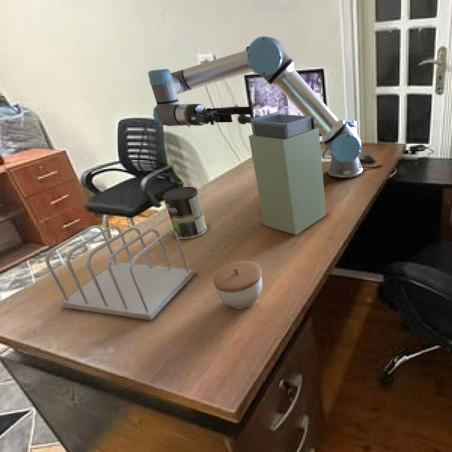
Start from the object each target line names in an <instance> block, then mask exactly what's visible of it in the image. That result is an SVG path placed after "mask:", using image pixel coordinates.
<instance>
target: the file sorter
mask: <svg viewBox="0 0 452 452" xmlns="http://www.w3.org/2000/svg"><path fill="white" fill-rule="evenodd" d="M94 228H95V229H99V231H100V232H98V233H96V234H94V235H93V236H91V237H89V238H88V239H87V240H84V241H83V242H81V243H79V244H78V245H76V246H75V247H73V248H72V249H70V250H69V252H68V253H67V255H66V260H65V262H66V266H67V268H68V270H69V272H70V274H71V276H72V278H73V280H74V282H75V284H76V286H77V290H76V291H75V292H73V293H72V294H71V295H69V296H68V294H67V292H66V290H65V288H64V287H63V285H62V283H61V281H60V279H59V277H58V276H57V274H56V272H55V270H54V268H53V266H52V264H51V262H50V258H51V256H52V254H53V253H54V252H56V251H57V250H58V249H59V250H60V248H62V247H64V246H65V245H67V244H69V243H71V242H72V241H74V240H75V239H77V238H79V237H80V236H82V235H84V234H86V233H88V232H90V230H93V229H94ZM112 229H115V230H117V232H118V234H117V235H116V236H114V237H112V238H111V239H109V240H108V237H107V235H106V233H107V232H108V231H110V230H112ZM131 231H135V232H137V235H138V236H136V237H135V238H134V239H132V240H130V241H129V242H126V239H125V237H124V236H125V235H126V234H127V233H129V232H131ZM151 232H153V233H155V235H156V239H154V240H153V241H152V242H151V243H149V244H148V245H147V246H146V244H145V241H144V238H143V237H145V236H146V235H148V234H149V233H151ZM170 233H173V234H174V237H175V239H176V243H177V246H178V250H179V252H180V255H181V259H182V262H183V266H184V268H178V267H171V266H170V263H169V261H168V258H167V254H166V251H165V247H164V245H163V241H162V239H163V238H165V237H166V236H167V235H169V234H170ZM100 236H102V237H103V239H104V243H102V244H101V245H99V246H98V247H96V248H95V249H93V250H92V251H90V252H89V254H88V256H87V258H86V266H87V269H88V271H89V274H90V276H91V278H92V279H91V280H89V281H88V282H87V283H85V284H84V285H83V286H82V285H81V283H80V281H79V278H78V277H77V274H76V272H75V270H74V268H73V266H72V263H71V258H72V255H73V254H74V253H75V252H76V251H78V250H79V249H81V248H82V247H84V246H86V245H88V244H89V243H91V242H92V241H94V240H96V239H98V238H99V237H100ZM119 238H121V241H122V244H123V246H121V247H119V249H117V250H115V251H113V249H112V246H111V245H110V244H111V243H113V242H115V241H116V240H118V239H119ZM139 240H140V244H141V246H142V249H141V250H140V251H139V252H138V253H136V254H135V255H134V256H133V257H132V255H131V252H130V249H129V247H130V246H131V245H132V246H133V244H134V243H136V242H138V241H139ZM157 243H158V244H159V247H160V250H161V253H162V256H163V259H164V263H165V266H162V265H161V266H160V265H152V262H151V258H150V257H149V252H148V250H150V249H151V248H152V247H153V246H154V245H156V244H157ZM106 246H107V248H108V251H109V253H110V256H108V258H107V259H108V260H107V264H106V265H107V268H105V270H103V271H102V272H100V273H99V274H97V275H96V274H95V272H94V270H93V267H92V264H91V260H92V257H93V256H94V255H95V254H96V253H98V252H99V251H101V250H102V249H104V248H105V247H106ZM124 250H125V252H126V254H127V256H128V259H129V261H130V262H121V261H118V260H117V259H116V256H117V255H119V254H120V253H122V252H123V251H124ZM143 254H144V255H145V258H146V262H147V264H143V263H142V264H140V263H135V262H136V260H138V258H139V257H141V255H143ZM112 261H113V262H114V263H113V264H112ZM45 265H46V266H47V268H48V270H49V272H50V274H51V276H52V277H53V279H54V281H55V283H56V285H57V287H58V289H59V290H60V292H61V294H62V296H63V298H64V300H62V306H63V307H64V308H65V309H72V310H79V311H86V312H92V313H99V314H107V315H112V316H119V317H120V316H121V317H125V318H133V319H139V320H145V321H152V320H153V319H154V318H155V317H156V315H158V314H159V312H160V311H161V310H162V309H163V308H164V307H165V306H166V305H167V304H168V303H169V302H170V301H171V300H172V299H173V298H174V297H175V296H176V294H178V292H179V291H180V290H181V289H182V288H184V286H185V285H186V284H187V283H188V282H189V281H190V280H191V279H192V278H193V277H194V275H195V273H194V271H193V269H189V266H188V264H187V259H186V257H185V253H184V250H183V246H182V242H181V240H180V239H179V237H178V234H177V232H176V231H174V229H169V230H166V231H165V232H163V233H162V234H161V235H160V233H159V230H157V229H155V228H149V229H146V230H145V231H144V232H143V233H142V232H141V231H140V229H139V228H137V227H134V226H131V227H128V228H126V229H125V230H124V231H122V230H121V228H120V227H119V226H117V225H110V226H108V227H106V228H104V229H103V228H102V227H101V225H97V224H96V225H95V224H94V225H90V226H88V227H87V228H86V229H84V230H82V231H80V232H78V233H77V234H74V235H73V236H72V237H69V238H68V239H65V241H63V242H61V243H59V244H57V245H56V246H54V247H53V248H51V249H50V250H49V251H48V252H47V253H46V256H45Z"/></svg>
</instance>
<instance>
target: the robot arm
mask: <svg viewBox="0 0 452 452" xmlns="http://www.w3.org/2000/svg"><path fill="white" fill-rule="evenodd" d="M249 73H253V74H257V75H259V76H261V77H262V78H263V79H264V80H265V81H266V82H267V83H268V84H269V86H270V87H271V86H274V87H277V88H278V89H279V90H280V91H281V92H282V93H283V95H284V96H286V98H287V99H288V100H289V101H290V102H291V103H292V105H293V106H294V107H295V108H296V109H297V110H298V111H299V112H300V113H301V115H302V116H311V117H312V118H315V119H316V127H317V128H319V135H321V142H322V144H324V145H325V146H326V148H327V149H328V150H329V151H330V153H331V155H330V156H331V158H330V161H329V165H328V170H327V172H328V175H329V176H330V177H331V178H334V179H343V180H345V179H353V178H357V177H359V176H362V174H363V168H369V169H373V168H374V169H375V168H379V167H382V166H383V165H382V164H381V163H380V164H376V165H362V163H361V160H360V157H359V156H360V154H361V152H362V140H361V139H360V137H359V135H358V124H357V121H356V120H354V119H352V120H351V119H347V120H346V119H338V117H337V116H336V115H335V114H334V113H333V112H332V111H331V110H330V108H329V107H328V106H327V105H326V103H324V101H323V100H322V99H321V98H320V97H319V96H318V95H317V93H316V92H315V91H314V90H313V88H311V86H310V85H309V84H308V83H307V82H306V81H305V80H304V79H303V77H302V76H301V75H300V74H299V72H298V71H296V69H295V63H294V60H293V59H292V58H291V57H290V56H289V54H288V53H287V52H286V51H285V48H284V46H283V45H282V43H281V42H280V41H279V40H278V39H276V38H274V37H270V36H265V35H264V36H258V37H257V38H255V39H254V40H253V41H252V42H251V43H250V44H249V46H246V47H245V49H244V50H243V51H239V52H236V53H232V54H230V55H226V56H222V57H219V58H216V59H213V60H209V61H206V62H202V63H200V64H196V65H193V66H190V67H187V68H184V69H180V70H177V71H173V72H171V71H170V69H169V68H161V69H160V68H159V69H152V70H149V71H148V73H147V75H148V79H149V84H150V86H151V90H152V94H153V97H154V99H155V102H156V106H154V108H153V110H152V112H153V113H152V117H153V119H154V122H156V123H157V124H158V125H160V126H167V127H178V126H179V127H180V126H181V127H182V126H183V127H184V126H186V127H187V128H191V126H195V127H196V126H197V127H198V126H199V127H200V126H205V125H208V124H210V125H211V126H214V125H215V123H233V122H234V121H233V118H232V117H233V115H237V116H239V115H241V114H244V115H246V116H252V115H254V114H255V113H254V106H240V105H238V104H235V106H225V107H213V108H211V107H205V105H203V104H201V103H180V102H179V98H178V95H179V94H182V93H185V92H188V91H191V90H194V89H198V88H201V87H205V86H208V85H212V84H214V83H215V84H216V83H218V82H222V81H225V80H229V79H231V78H235V77H239V76H242V75H246V74H249Z"/></svg>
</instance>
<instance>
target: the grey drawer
mask: <svg viewBox="0 0 452 452" xmlns="http://www.w3.org/2000/svg"><path fill="white" fill-rule="evenodd" d="M237 122H238V124H240V125H246V124H251V129H252V135H253V134H256V131H255V124H263V125H273V126H282V127H287V132H288V138H289V137H292V136H294V135H297V134H300V133H303V132H306V131H308V130H311V129H312V126H311V116H304V115H299V114H283V113H282V112H281V111H279V110H278V111H274V112H271V113H268V114H264V115H260V116H248V115H244V114H241V115H237Z"/></svg>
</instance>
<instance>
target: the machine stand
mask: <svg viewBox="0 0 452 452" xmlns="http://www.w3.org/2000/svg"><path fill="white" fill-rule="evenodd" d="M311 126H312V129H311V130H308V131H306V132H303V133H300V134H297V135H294V136H292V137H289V138H288V132H287V127H282V126H273V125H263V124H255V131H256V134H253V133H252V134H250V135H248V142H249V146H250V153H251V157H252V163H253V168H254V174H255V178H256V184H257V189H258V195H259V201H260V207H261V213H262V219H263V223H264V226H266V227H269V228H272V229H275V230H279V231H281V232H284V233H288V234H290V235H294V236H297V235H298V234H300V233H301V232H304V230H306V229H307V228H309V227H311V226H313V225H314V224H315V223H316V222H318V221H320V220H321V219H322V218H324V217H326V216H327V209H326V208H327V207H326V197H325V184H324V173H323V160H322V151H321V150H322V148H321V137H320V133H319V128H317V127H316V119H315V118H312V117H311Z"/></svg>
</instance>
